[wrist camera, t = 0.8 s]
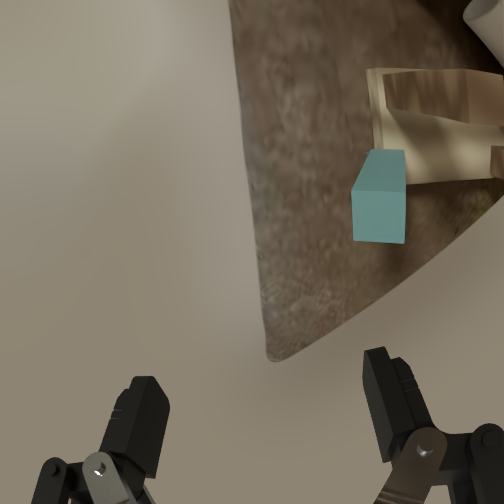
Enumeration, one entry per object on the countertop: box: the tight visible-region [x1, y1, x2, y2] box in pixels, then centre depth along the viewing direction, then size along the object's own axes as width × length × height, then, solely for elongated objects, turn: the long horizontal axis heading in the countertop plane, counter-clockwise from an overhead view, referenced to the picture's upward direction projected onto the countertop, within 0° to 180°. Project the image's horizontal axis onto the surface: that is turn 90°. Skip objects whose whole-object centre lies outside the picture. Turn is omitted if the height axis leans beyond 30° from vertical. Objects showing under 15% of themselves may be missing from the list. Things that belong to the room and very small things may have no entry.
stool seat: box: [366, 68, 504, 185], centre depth 22 cm, size 13×20×18 cm, turn 100°
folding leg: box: [351, 149, 406, 244], centre depth 25 cm, size 4×4×14 cm
